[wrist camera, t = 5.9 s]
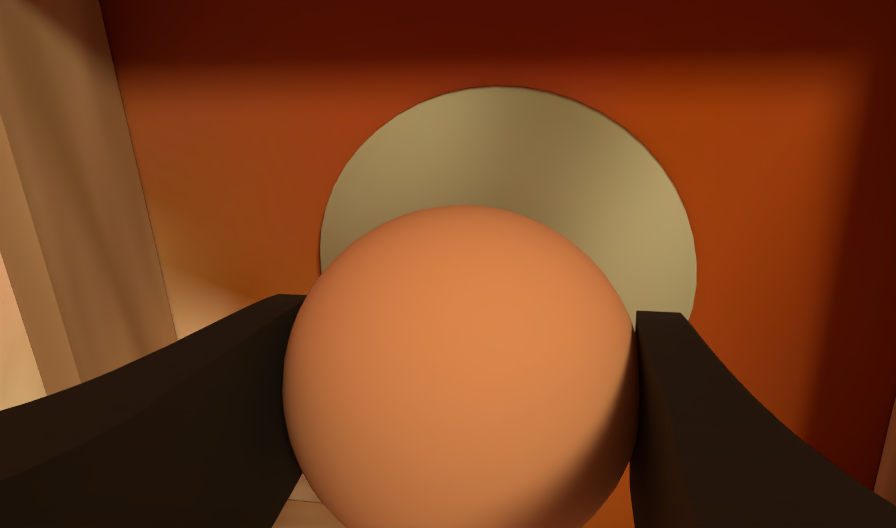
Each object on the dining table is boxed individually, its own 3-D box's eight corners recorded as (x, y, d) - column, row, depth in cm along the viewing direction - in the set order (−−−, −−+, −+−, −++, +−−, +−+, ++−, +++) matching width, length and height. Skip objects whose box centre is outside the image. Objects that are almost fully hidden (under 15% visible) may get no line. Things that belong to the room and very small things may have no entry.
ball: (641, 160, 11) (681, 317, 7) (623, 428, 14) (646, 682, 9) (326, 159, 12) (181, 299, 8) (355, 412, 14) (253, 638, 10)
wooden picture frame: (1102, -195, 10) (1286, -234, 7) (892, 592, 16) (951, 732, 13) (30, -114, 13) (-121, -122, 10) (188, 514, 19) (117, 614, 16)
